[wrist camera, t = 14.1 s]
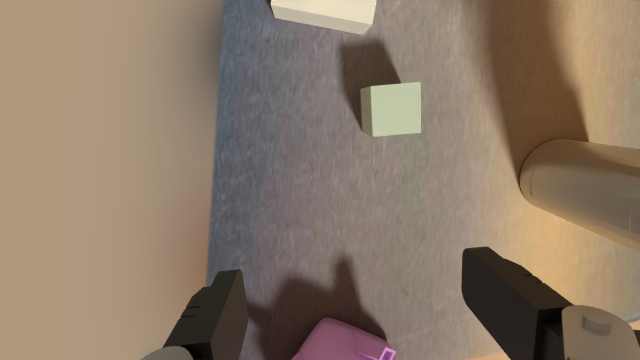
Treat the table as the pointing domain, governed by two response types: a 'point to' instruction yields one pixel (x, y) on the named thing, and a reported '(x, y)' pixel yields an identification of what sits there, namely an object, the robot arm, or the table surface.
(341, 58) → the table surface
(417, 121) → the sage cube
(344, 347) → the teakettle
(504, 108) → the table surface
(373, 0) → the cream base block
